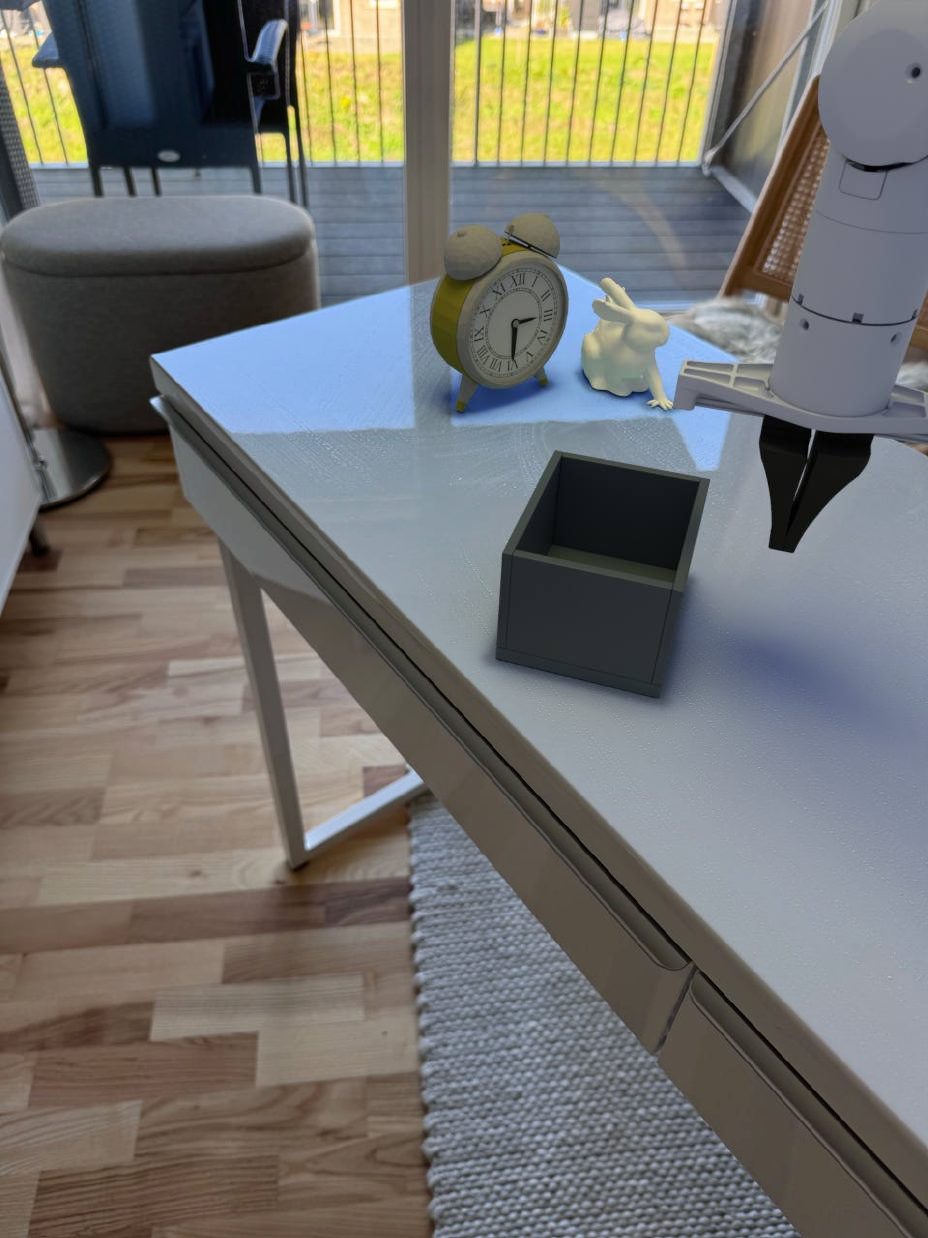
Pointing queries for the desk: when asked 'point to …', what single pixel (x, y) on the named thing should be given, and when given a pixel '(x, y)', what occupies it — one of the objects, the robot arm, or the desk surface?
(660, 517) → the dark grey storage bin
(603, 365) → the rabbit figurine
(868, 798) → the desk surface
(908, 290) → the robot arm
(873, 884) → the desk surface
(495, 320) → the alarm clock
